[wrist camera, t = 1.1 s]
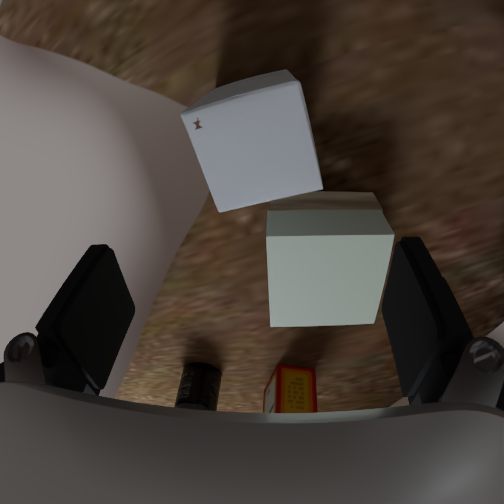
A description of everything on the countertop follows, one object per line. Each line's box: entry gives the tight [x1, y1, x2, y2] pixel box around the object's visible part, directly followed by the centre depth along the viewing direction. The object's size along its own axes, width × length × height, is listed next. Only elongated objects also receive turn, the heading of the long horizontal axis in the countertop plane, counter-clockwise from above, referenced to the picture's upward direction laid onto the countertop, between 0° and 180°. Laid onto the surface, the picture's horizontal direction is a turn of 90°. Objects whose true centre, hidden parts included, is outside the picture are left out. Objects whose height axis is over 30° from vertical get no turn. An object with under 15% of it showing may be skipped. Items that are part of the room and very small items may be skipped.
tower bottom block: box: [270, 191, 383, 213], centre depth 35 cm, size 11×11×4 cm
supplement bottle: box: [174, 362, 221, 411], centre depth 49 cm, size 7×7×12 cm
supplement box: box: [181, 69, 323, 212], centre depth 24 cm, size 7×7×13 cm
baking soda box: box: [263, 364, 318, 413], centre depth 48 cm, size 10×6×16 cm
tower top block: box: [266, 210, 394, 327], centre depth 31 cm, size 11×11×4 cm
